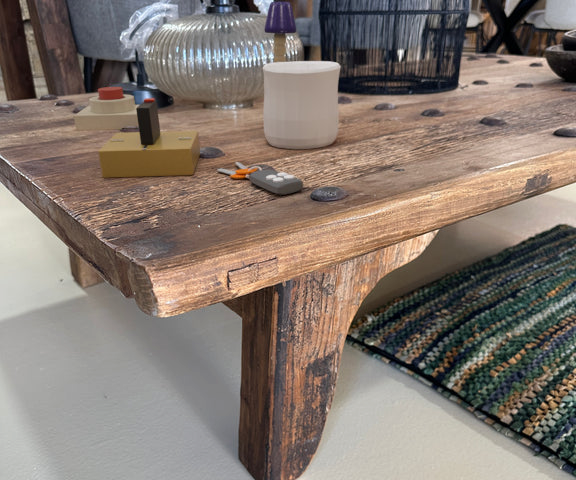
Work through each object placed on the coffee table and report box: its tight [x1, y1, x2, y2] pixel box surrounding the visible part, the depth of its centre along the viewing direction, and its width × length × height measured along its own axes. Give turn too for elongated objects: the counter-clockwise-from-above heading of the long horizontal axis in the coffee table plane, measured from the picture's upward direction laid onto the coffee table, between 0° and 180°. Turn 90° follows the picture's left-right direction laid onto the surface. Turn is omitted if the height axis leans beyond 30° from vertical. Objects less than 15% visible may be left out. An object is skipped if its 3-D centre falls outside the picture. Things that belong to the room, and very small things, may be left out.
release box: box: [73, 93, 140, 131], centre depth 88 cm, size 10×8×4 cm
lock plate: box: [97, 130, 201, 179], centre depth 67 cm, size 10×9×3 cm
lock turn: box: [136, 97, 161, 145], centre depth 65 cm, size 5×1×4 cm, turn 2°
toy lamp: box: [264, 1, 297, 63], centre depth 85 cm, size 5×5×17 cm
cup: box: [262, 60, 342, 150], centre depth 75 cm, size 10×10×10 cm
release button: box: [97, 86, 124, 100], centre depth 87 cm, size 4×4×2 cm
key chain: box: [216, 161, 304, 196], centre depth 61 cm, size 13×4×2 cm, turn 38°
